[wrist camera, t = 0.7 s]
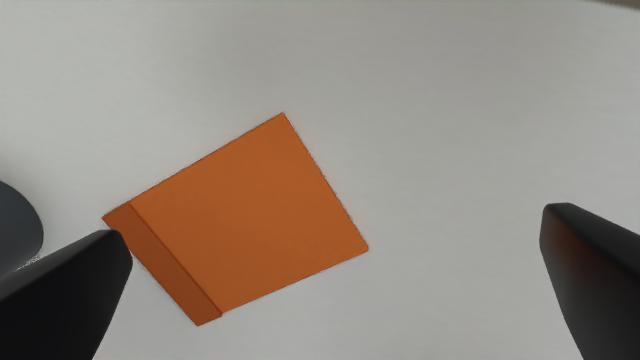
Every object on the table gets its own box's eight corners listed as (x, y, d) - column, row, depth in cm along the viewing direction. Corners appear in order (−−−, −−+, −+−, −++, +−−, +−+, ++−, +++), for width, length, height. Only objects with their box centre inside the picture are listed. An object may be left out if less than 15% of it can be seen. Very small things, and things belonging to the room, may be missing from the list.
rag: (368, 247, 26) (368, 253, 25) (197, 321, 30) (193, 328, 29) (282, 111, 23) (280, 115, 22) (104, 215, 27) (98, 220, 26)
